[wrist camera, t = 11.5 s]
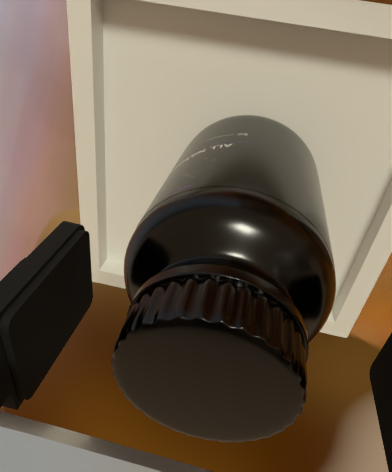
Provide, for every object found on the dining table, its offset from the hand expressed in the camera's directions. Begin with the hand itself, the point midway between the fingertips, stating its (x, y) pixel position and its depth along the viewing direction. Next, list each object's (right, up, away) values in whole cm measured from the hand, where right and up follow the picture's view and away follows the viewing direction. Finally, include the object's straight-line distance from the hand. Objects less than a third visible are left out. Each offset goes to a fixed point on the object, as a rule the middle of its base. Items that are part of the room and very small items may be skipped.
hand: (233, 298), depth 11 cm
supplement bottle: (+1, +5, +8) cm, 9 cm away
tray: (+1, +5, +8) cm, 10 cm away
